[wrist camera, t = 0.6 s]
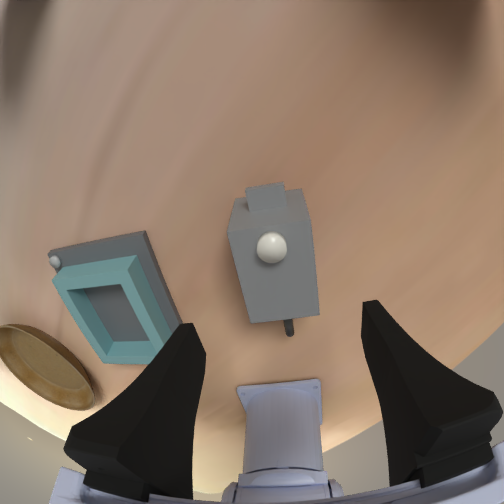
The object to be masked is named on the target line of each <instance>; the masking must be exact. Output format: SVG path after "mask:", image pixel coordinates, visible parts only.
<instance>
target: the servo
mask: <svg viewBox="0 0 504 504" xmlns="http://www.w3.org/2000/svg"><path fill="white" fill-rule="evenodd" d="M245 193H246V197H243V198H237V199H235V202H234V206H233V210H232V214H231V218H230V222H229V225H228V229H227V235H228V239H229V242H230V246H231V250H232V254H233V258H234V262H235V266H236V270H237V273H238V277H239V281H240V285H241V289H242V292H243V296H244V300H245V304H246V307H247V311H248V315H249V319H250V322H251V323H260V322H269V321H277V320H283V321H284V327H285V332H286V335H287V336H288V337H291V336H293V335H294V327H293V321H292V319H294V318H301V317H309V316H316V315H320V312H319V299H318V287H317V276H316V265H315V255H314V245H313V236H312V227H311V219H310V216H309V212H308V209H307V205H306V202H305V198H304V195H303V192H302V189H295V190H288V191H285V189H284V183H283V182H279V183H272V184H266V185H260V186H254V187H247V188H246V189H245Z"/></svg>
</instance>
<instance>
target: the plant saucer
mask: <svg viewBox="0 0 504 504" xmlns="http://www.w3.org/2000/svg"><path fill="white" fill-rule="evenodd" d="M0 358H1V359H2V361H3V362H4V363H5V365H6V366H7V367H8V369H9V370H10V371H11V372H12V373H13V374H14V375H15V376H16V377H17V378H18V379H19V380H20V381H21V382H22V383H23V384H24V385H26V386H27V387H28V388H29V389H31V390H32V391H33V392H35V393H36V394H38V395H39V396H41V397H42V398H44V399H46V400H48V401H50V402H52V403H54V404H56V405H59V406H61V407H64V408H67V409H71V410H78V411H84V410H88V409H90V408H92V407H93V406H94V403H95V397H94V392H93V389H92V386H91V383H90V381H89V378H88V376H87V374H86V372H85V370H84V369H83V367H82V365H81V364H80V362H79V361H78V360H77V359H76V357H75V356H74V355H73V354H72V353H71V352H70V351H69V350H68V349H67V348H66V347H65V346H63V345H62V344H61V343H60V342H58V341H57V340H56V339H54V338H53V337H51V336H50V335H48V334H46V333H45V332H43V331H41V330H39V329H36V328H34V327H31V326H26V325H19V324H8V325H2V326H0Z"/></svg>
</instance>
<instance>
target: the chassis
mask: <svg viewBox="0 0 504 504" xmlns="http://www.w3.org/2000/svg"><path fill="white" fill-rule="evenodd" d="M48 256H49V258H50V259H49V262H50V264H51V266H52V267H53V268H55V270H56V272H57V275H56V276H55V277H54V278H53V279H52V282H53V284H54V286H55V287H56V289H57V291H58V293H59V295H60V296H61V298H62V300H63V302H64V303H65V305H66V307H67V308H68V310H69V312H70V313H71V315H72V317H73V318H74V320H75V322H76V323H77V325H78V326H79V328H80V329H81V331H82V333H83V334H84V336H85V337H86V339H87V340H88V342H89V343H90V345H91V346H92V348H93V349H94V351H95V352H96V353H97V355H98V356H99V358H100V359H101V361H102V362H103V363H109V364H150V362H151V361H152V360H153V359H154V357H155V356H156V355H157V354H158V352H159V351H160V350H161V348H162V347H163V346H164V344H165V343H166V342H167V340H168V339H169V338H170V336H171V335H172V334H173V332H174V331H175V330H176V328H177V327H178V326H179V324H183V322H182V320H181V318H180V316H179V313H178V311H177V309H176V306H175V304H174V302H173V299H172V297H171V295H170V292H169V290H168V287H167V285H166V282H165V280H164V278H163V275H162V273H161V270H160V268H159V265H158V262H157V260H156V257H155V255H154V252H153V249H152V247H151V244H150V241H149V239H148V236H147V233H146V231H140V232H135V233H130V234H125V235H120V236H115V237H110V238H105V239H100V240H95V241H91V242H86V243H81V244H77V245H72V246H67V247H63V248H58V249H54V250H51V251H50V252H49V253H48Z"/></svg>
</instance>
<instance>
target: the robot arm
mask: <svg viewBox="0 0 504 504" xmlns="http://www.w3.org/2000/svg"><path fill="white" fill-rule="evenodd" d="M361 339H362V344H363V349H364V353H365V358H366V361H367V364H368V367H369V370H370V373H371V376H372V380H373V383H374V386H375V389H376V392H377V395H378V399H379V403H380V407H381V412H382V418H383V423H384V430H385V438H386V445H387V455H388V466H389V481H390V482H389V483H390V487H387V488H383V489H378V490H374V491H369V492H364V493H358V494H353V495H347V496H344V493H343V489H342V487H341V485H340V484H339V483H338V482H336V480H335V479H328V477H327V471H323V458H322V445H321V433H320V425H321V424H322V402H321V382H320V380H319V379H310V380H302V381H293V382H283V383H273V384H261V385H247V386H239V387H237V393H238V396H239V398H240V400H241V403H242V405H243V407H244V410H245V412H246V414H247V417H246V432H245V446H244V461H243V474H239V478H238V482H232V483H230V485H229V486H228V487H226V488H225V490H224V492H223V495H222V500H221V502H214V501H201V500H193V485H192V456H193V438H194V426H195V419H196V413H197V408H198V404H199V399H200V394H201V390H202V385H203V380H204V375H205V364H206V352H205V350H204V348H203V346H202V343H201V341H200V339H199V336H198V334H197V332H196V329H195V327H194V325H193V323H185V324H179V326H178V327H177V328H176V330H175V331H174V332H173V334H172V335H171V336H170V338H169V339H168V340H167V342H166V343H165V344H164V346H163V347H162V348H161V350H160V351H159V352H158V354H157V355H156V356H155V357H154V359H153V360H152V361H151V362H150V364H149V365H148V366H147V367H146V368H145V369H144V371H143V372H142V373H141V374H140V375H139V376H138V377H137V378H136V379H135V380H134V381H133V382H132V383H131V384H130V385H129V386H128V387H127V388H126V389H125V390H124V391H123V392H122V393H121V394H119V395H118V396H117V397H116V398H115V399H113V400H112V401H111V402H110V403H109V404H107V405H106V406H104V407H103V408H102V409H100V410H99V411H97V412H96V413H94V414H93V415H91V416H90V417H88V418H86V419H84V420H83V421H81V422H79V423H77V424H76V425H74V426H72V428H71V430H70V433H69V435H68V438H67V440H66V443H65V446H64V451H65V453H66V454H67V456H69V457H70V458H71V459H72V460H74V461H75V462H77V463H78V464H79V465H81V466H82V467H83V468H85V469H86V470H87V471H86V474H85V475H84V474H82V473H80V472H77V471H74V470H71V469H68V468H65V467H61V468H60V471H59V474H58V477H57V480H56V483H55V486H54V489H53V492H52V495H51V499H50V502H49V504H500V503H502V502H504V441H502V442H500V443H498V444H496V445H495V446H493V447H492V448H491V446H490V443H489V442H490V441H491V440H492V437H491V435H490V431H491V430H492V429H493V427H494V426H495V425H496V424H497V423H498V422H499V420H500V418H501V417H502V414H503V410H502V408H501V406H500V403H499V401H498V399H497V397H496V396H495V394H494V392H492V391H490V390H488V389H486V388H483V387H481V386H479V385H476V384H474V383H473V382H471V381H469V380H467V379H465V378H463V377H461V376H460V375H458V374H457V373H455V372H453V371H452V370H451V369H449V368H447V367H446V366H444V365H443V364H442V363H440V362H439V361H438V360H436V359H435V358H434V357H433V356H431V355H430V354H429V353H428V352H426V351H425V350H424V349H423V348H422V347H421V346H420V345H419V344H418V343H417V342H415V341H414V340H413V339H412V338H411V337H410V336H409V335H408V334H407V333H406V332H405V331H404V330H403V328H402V327H401V326H400V325H399V324H398V323H397V322H396V321H395V320H394V319H393V318H392V316H391V315H390V314H389V313H388V312H387V311H386V309H385V308H384V307H383V306H382V305H381V303H380V302H379V301H378V300H372V301H366V302H363V308H362V328H361Z"/></svg>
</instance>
